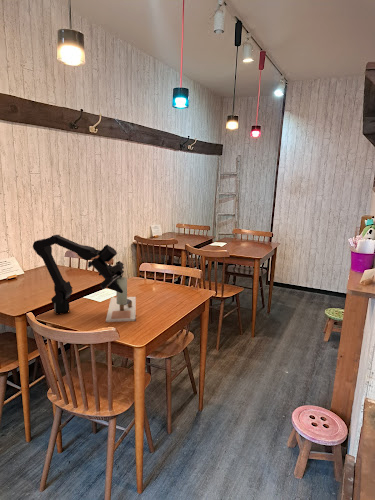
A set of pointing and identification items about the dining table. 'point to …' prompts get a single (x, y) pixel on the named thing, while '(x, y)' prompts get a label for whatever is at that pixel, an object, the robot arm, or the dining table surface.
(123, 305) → the brown arch piece
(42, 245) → the robot arm
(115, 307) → the base board
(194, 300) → the dining table surface
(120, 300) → the grey upright cylinder
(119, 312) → the mat
